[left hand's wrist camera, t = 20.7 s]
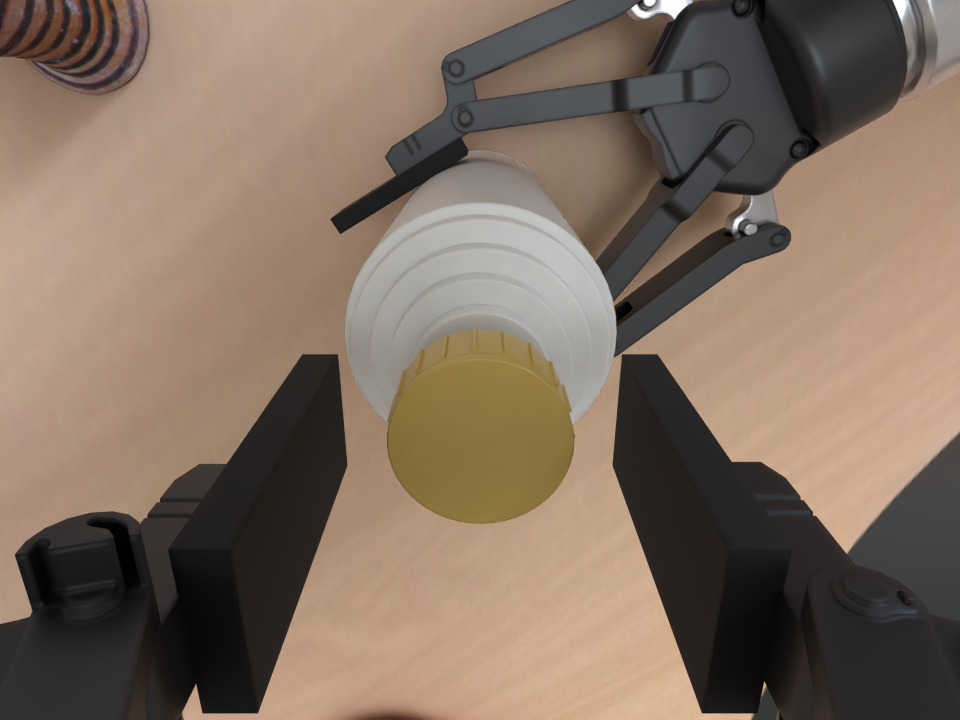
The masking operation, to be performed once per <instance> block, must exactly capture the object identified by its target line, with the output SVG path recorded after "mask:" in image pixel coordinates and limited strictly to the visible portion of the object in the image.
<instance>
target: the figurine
mask: <svg viewBox="0 0 960 720" xmlns="http://www.w3.org/2000/svg"><path fill="white" fill-rule="evenodd" d="M147 39H148V29H147V15H146V12H145V5H144V2H143V0H0V57H16V58H22V59H26V60H27V61H28V62H29V63H30V64H31V65H32V66H33V67H34V68H35V69H36V70H37V71H39V72H40V73H41V74H43V75H44V76H45V77H47V78H48V79H50V80H51V81H53V82H55V83H57V84H59V85H61V86H63V87H65V88H68V89H71V90H74V91H76V92H80V93H83V94H93V95H98V94H103V93H108V92H110V91H112V90H115V89H117V88H119V87H120V86H122V85H123V84H125V83H126V82H128V81H129V80H130V79H131V78H132V77H133V76H134V75H135V74H136V72H137V70H138V68H139V66H140V64H141V62H142V60H143V58H144V55H145V47H146V43H147Z"/></svg>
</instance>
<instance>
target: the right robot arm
mask: <svg viewBox="0 0 960 720" xmlns="http://www.w3.org/2000/svg"><path fill="white" fill-rule="evenodd" d="M624 12H627V13H628V15H629V16H630V17H631V18H632V19H634V20H636V21H642V20H645V19H648V18H650V17H652V16H655V15H658V16H662V17H664V18H665V19H666V20H667V21H668V24H667V26H666V28H665V30H664V32H663V34H662V36H661V38H660V40H659V42H658V44H657V46H656V49H655V51H654V53H653V55H652V57H651V59H650V61H649V63H648V65H647V67H646V69H645V71H644V74H643V76H639V77H632V78H626V79H619V80H612V81H605V82H599V83H592V84H585V85H578V86H571V87H565V88H558V89H551V90H544V91H537V92H531V93H524V94H517V95H510V96H503V97H496V98H490V99H483V100H477V97H476V91H475V85H474V80H475V79H477V78H479V77H482V76H484V75H487V74H489V73H491V72H494V71H496V70H498V69H501V68H503V67H505V66H508V65H510V64H512V63H515V62H517V61H519V60H522V59H524V58H526V57H529V56H531V55H533V54H536V53H538V52H540V51H543V50H545V49H547V48H550V47H552V46H554V45H557V44H559V43H561V42H564V41H566V40H568V39H571V38H573V37H575V36H578V35H580V34H582V33H585V32H587V31H589V30H592V29H594V28H596V27H599V26H601V25H603V24H605V23H607V22H609V21H611V20H613V19H614V18H616V17H618V16H620V15H621V14H623V13H624ZM441 70H442V75H443V79H444V84H445V89H446V94H447V105H446V108H445V110H444V112H443V113H442V114H441V115H440V116H439V117H438V118H436V119H434V120H433V121H431V122H430V123H428V124H427V125H425V126H423V127H422V128H420V129H419V130H417V131H416V132H414V133H412V134H411V135H409V136H408V137H406V138H405V139H403V140H402V141H400V142H398V143H397V144H395V145H394V146H392V147H391V149H390V150H389V152H388V153H387V155H386V156H385V158H386V160H387V161H388V163H389V165H390V166H391V168H392V169H393V171H394V173H395V174H396V176H395V177H393V178H392V179H390V180H389V181H387V182H385V183H384V184H382V185H381V186H379V187H377V188H376V189H374V190H373V191H371V192H369V193H368V194H366V195H365V196H363V197H361V198H360V199H358V200H357V201H355V202H354V203H352V204H350V205H349V206H347V207H346V208H344V209H342V210H341V211H340V212H339V213H337V214H336V215H335V216H334V217H333V218H331V221H332V222H333V224H334V225H335V227H336V228H337V230H338V231H339V233H340V234H341V233H343V232H345V231H346V230H348V229H349V228H351V227H353V226H354V225H356V224H357V223H359V222H361V221H362V220H364V219H365V218H367V217H369V216H370V215H372V214H374V213H375V212H377V211H378V210H380V209H382V208H383V207H385V206H386V205H388V204H390V203H391V202H393V201H395V200H396V199H398V198H399V197H401V196H403V195H404V194H406V193H407V192H409V191H411V190H412V189H414V188H415V187H417V186H419V185H420V184H422V183H424V182H425V181H427V180H428V179H430V178H432V177H433V176H435V175H436V174H438V173H440V172H441V171H443V170H444V169H446V168H448V167H449V166H451V165H453V164H454V163H456V162H457V161H459V160H461V159H462V158H464V157H465V156H467V155H468V151H469V150H468V149H467V147H466V145H465V143H464V142H463V140H462V137H463V136H465V135H466V134H468V133H472V132H479V131H486V130H493V129H500V128H507V127H514V126H521V125H528V124H534V123H541V122H548V121H555V120H562V119H569V118H576V117H583V116H590V115H597V114H604V113H611V112H619V111H628V110H634V112H633V113H631V114H632V117H633V119H634V121H635V123H636V125H637V127H638V129H639V130H640V131H641V132H642V134H643V135H644V136H645V137H646V138H647V139H648V140H649V142H650V144H651V149H652V155H653V161H654V163H655V165H656V167H657V169H658V171H659V173H660V175H661V177H660V179H659V180H658V181H657V182H656V183H655V185H654V186H653V187H652V189H651V190H650V192H649V194H648V197H647V199H646V200H645V201H644V203H643V204H642V205H641V206H640V208H639V209H638V210H637V211H636V212H635V214H634V215H633V216H632V217H631V219H630V220H629V221H628V222H627V224H626V225H625V226H624V227H623V228H622V230H621V231H620V232H619V233H618V235H617V236H616V237H615V238H614V239H613V241H612V242H611V243H610V244H609V246H608V247H607V248H606V249H605V250H604V252H603V253H602V254H601V255H600V257H599V258H598V259H597V260H596V261H595V262H596V264H597V265H598V266H599V268H600V270H601V272H602V274H603V276H604V278H605V280H606V282H607V284H608V287H609V290H610V293H611V296H612V299H613V302H614V301H615V300H616V298H617V297H618V296H619V295H620V294H621V292H622V291H623V290H624V289H625V288H626V287H627V285H628V284H629V283H630V282H631V281H632V279H633V278H634V277H635V276H636V275H637V274H638V272H639V271H640V270H641V269H642V268H643V266H644V265H645V264H646V263H647V262H648V261H649V259H650V258H651V257H652V256H653V255H654V253H655V252H656V251H657V250H658V249H659V248H660V246H661V245H662V244H663V243H664V242H665V240H666V239H667V238H668V237H669V236H670V235H671V233H672V232H673V231H674V230H675V229H676V227H677V226H678V225H679V224H680V223H681V222H683V221H685V220H687V219H688V218H689V217H690V216H691V215H692V214H693V213H694V212H695V211H696V210H697V209H698V207H699V206H700V205H701V204H702V203H703V202H704V200H705V199H706V198H707V197H708V196H709V194H710V193H711V192H719V193H730V194H740V195H743V200H742V203H741V205H740V206H739V208H738V209H736V210H735V211H733V212H732V213H730V214H729V215H728V217H727V218H726V220H725V227H724V228H722V229H720V230H718V231H716V232H714V233H712V234H710V235H709V236H707V237H706V238H704V239H703V240H701V241H700V242H699V243H697V244H696V245H695V246H693V247H692V248H691V249H689V250H688V251H687V252H685V253H684V254H683V255H681V256H680V257H679V258H677V259H676V260H675V261H674V262H672V263H671V264H670V265H668V266H667V267H666V268H664V269H663V270H662V271H660V272H659V273H658V274H656V275H655V276H654V277H652V278H651V279H650V280H648V281H647V282H646V283H644V284H643V285H642V286H640V287H639V288H638V289H636V290H635V291H634V292H632V293H631V294H630V295H628V296H627V297H626V298H624V299H623V300H622V301H620V302H619V303H618V304H616V305H615V306H614V309H615V315H616V331H617V334H616V345H615V352H614V356H613V357H615V356H618V355H619V354H620V353H622V352H623V351H624V350H626V349H627V348H629V347H630V346H631V345H633V344H634V343H635V342H637V341H638V340H640V339H641V338H642V337H644V336H645V335H646V334H648V333H649V332H650V331H652V330H653V329H655V328H656V327H657V326H659V325H660V324H661V323H663V322H664V321H666V320H667V319H668V318H670V317H671V316H672V315H674V314H675V313H677V312H678V311H679V310H681V309H682V308H683V307H685V306H686V305H688V304H689V303H690V302H692V301H693V300H694V299H696V298H697V297H698V296H700V295H701V294H703V293H704V292H705V291H707V290H708V289H709V288H711V287H712V286H714V285H715V284H716V283H718V282H719V281H720V280H722V279H723V278H725V277H726V276H727V275H729V274H730V273H731V272H733V271H734V270H736V269H737V268H738V267H740V266H741V265H742V264H745V263H748V262H751V261H754V260H757V259H760V258H763V257H766V256H769V255H772V254H775V253H778V252H780V251H782V250H784V249H785V248H786V247H787V246H788V245H789V243H790V241H791V233H790V231H789V230H788V229H787V228H786V227H785V226H782V225H780V224H779V222H778V217H777V212H776V207H775V202H774V196H773V191H772V189H773V188H774V187H775V186H776V185H777V184H778V183H779V182H780V180H781V179H782V178H783V176H784V175H785V174H786V172H787V171H788V170H789V169H790V168H791V167H792V166H794V165H795V164H796V163H798V162H799V161H801V160H803V159H805V158H807V157H809V156H811V155H813V154H815V153H817V152H818V151H820V150H822V149H824V148H826V147H827V146H829V145H831V144H833V143H834V142H836V141H838V140H840V139H842V138H843V137H845V136H847V135H849V134H851V133H852V132H854V131H856V130H858V129H859V128H861V127H863V126H865V125H867V124H868V123H870V122H872V121H874V120H876V119H877V118H879V117H881V116H883V115H884V114H886V113H888V112H889V111H890V110H891V109H893V107H894V106H895V104H896V103H897V101H908V100H911V99H914V98H916V97H918V96H920V95H922V94H923V93H925V92H927V91H928V90H930V89H932V88H934V87H935V86H937V85H939V84H941V83H942V82H944V81H946V80H948V79H949V78H951V77H953V76H954V75H956V74H958V73H960V0H699V1H695V2H694V1H693V0H571V1H569V2H566V3H564V4H562V5H560V6H557V7H555V8H553V9H550V10H548V11H546V12H544V13H541V14H539V15H537V16H534V17H532V18H530V19H527V20H525V21H523V22H521V23H518V24H516V25H514V26H511V27H509V28H507V29H505V30H502V31H500V32H498V33H495V34H493V35H491V36H489V37H486V38H484V39H482V40H479V41H477V42H475V43H472V44H470V45H468V46H466V47H463V48H461V49H459V50H456V51H454V52H452V53H450V54H449V55H447V56H446V57H445V58H444V60H443V62H442V67H441Z"/></svg>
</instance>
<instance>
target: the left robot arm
mask: <svg viewBox="0 0 960 720" xmlns="http://www.w3.org/2000/svg"><path fill="white" fill-rule="evenodd" d="M346 468H347V455H346V443H345V432H344V420H343V408H342V396H341V385H340V373H339V361H338V354H303V355H302V356H301V357H300V359H299V360H298V362H297V363H296V365H295V366H294V368H293V369H292V370H291V372H290V373H289V375H288V376H287V378H286V379H285V381H284V382H283V384H282V385H281V386H280V388H279V389H278V391H277V392H276V394H275V395H274V397H273V398H272V399H271V401H270V402H269V404H268V405H267V407H266V408H265V410H264V411H263V412H262V414H261V415H260V417H259V418H258V420H257V421H256V423H255V424H254V425H253V427H252V428H251V430H250V431H249V433H248V434H247V436H246V437H245V439H244V440H243V441H242V443H241V444H240V446H239V447H238V449H237V450H236V452H235V453H234V454H233V456H232V457H231V459H230V460H229V462H228V463H227V464H199V465H197V466H196V467H194V468H193V469H191V470H190V471H188V472H187V473H185V474H184V475H182V476H180V477H179V478H177V479H176V480H175V481H174V482H173V483H172V484H171V486H170V487H169V488H168V489H167V491H166V492H165V493H164V494H163V496H162V497H161V498H160V502H157V503H156V504H155V506H154V507H153V508H152V509H151V511H150V512H149V513H148V517H147V518H144V519H143V521H142V522H141V523H140V524H139V522H138V521H136V520H135V519H134V518H133V517H131V516H130V515H128V514H123V513H118V512H113V511H111V512H95V513H88V514H84V515H80V516H76V517H72V518H68V519H66V520H63V521H61V522H59V523H56V524H54V525H52V526H49V527H47V528H45V529H43V530H42V531H40V532H39V533H37V534H36V535H34V536H33V537H31V538H30V539H28V540H27V541H26V542H25V543H24V544H23V546H22V547H21V548H20V549H19V550H18V551H17V553H16V554H15V557H16V560H17V563H18V566H19V570H20V573H21V576H22V579H23V582H24V585H25V588H26V592H27V595H28V598H29V601H30V604H31V607H32V614H31V616H30V617H28V618H25V619H21V620H17V621H13V622H8V623H3V624H0V720H184V719H183V714H182V711H183V709H184V707H185V705H186V703H187V701H188V699H189V697H190V695H191V693H192V691H193V689H194V687H195V685H197V689H198V694H199V699H200V703H201V708H202V713H258V712H259V709H260V706H261V703H262V701H263V698H264V695H265V692H266V690H267V687H268V684H269V681H270V678H271V676H272V673H273V670H274V667H275V665H276V662H277V659H278V656H279V653H280V651H281V648H282V645H283V642H284V640H285V637H286V634H287V631H288V629H289V626H290V623H291V620H292V617H293V615H294V612H295V609H296V606H297V604H298V601H299V598H300V595H301V592H302V590H303V587H304V584H305V581H306V579H307V576H308V573H309V570H310V568H311V565H312V562H313V559H314V556H315V554H316V551H317V548H318V545H319V543H320V540H321V537H322V534H323V532H324V529H325V526H326V523H327V520H328V518H329V515H330V512H331V509H332V507H333V504H334V501H335V498H336V495H337V493H338V490H339V487H340V484H341V482H342V479H343V476H344V473H345V471H346ZM613 468H614V471H615V473H616V476H617V479H618V482H619V484H620V487H621V490H622V493H623V495H624V498H625V501H626V504H627V507H628V509H629V512H630V515H631V518H632V520H633V523H634V526H635V529H636V532H637V534H638V537H639V540H640V543H641V545H642V548H643V551H644V554H645V556H646V559H647V562H648V565H649V568H650V570H651V573H652V576H653V579H654V581H655V584H656V587H657V590H658V592H659V595H660V598H661V601H662V604H663V606H664V609H665V612H666V615H667V617H668V620H669V623H670V626H671V629H672V631H673V634H674V637H675V640H676V642H677V645H678V648H679V651H680V653H681V656H682V659H683V662H684V665H685V667H686V670H687V673H688V676H689V678H690V681H691V684H692V687H693V690H694V692H695V695H696V698H697V701H698V703H699V706H700V709H701V712H702V713H758V708H759V703H760V699H761V694H762V689H763V685H764V681H765V683H766V685H767V687H768V689H769V692H770V693H771V696H772V698H773V700H774V702H775V704H776V706H777V708H778V714H777V719H776V720H960V621H956V620H951V619H946V618H942V617H939V616H935V615H931V614H929V613H928V610H927V609H926V607H925V606H924V605H923V603H922V602H921V600H920V599H919V598H918V596H917V595H916V594H914V593H913V592H912V591H911V590H909V589H908V588H907V587H905V586H904V585H903V584H902V583H900V582H899V581H897V580H895V579H893V578H891V577H889V576H887V575H885V574H883V573H881V572H879V571H875V570H872V569H868V568H865V567H861V566H858V565H855V564H854V563H853V561H852V560H851V559H850V558H849V556H848V555H847V554H846V553H845V551H844V550H843V549H842V548H841V546H840V545H839V544H838V543H837V541H836V540H835V539H834V538H833V536H832V535H831V534H830V533H829V531H828V530H827V529H826V528H825V526H824V525H823V524H822V523H821V521H820V520H819V519H818V518H817V517H816V516H813V512H812V510H811V509H810V508H809V507H808V505H807V504H806V503H805V502H804V500H801V499H800V495H799V494H798V493H797V492H796V490H795V489H794V488H793V487H792V485H791V484H790V483H789V482H788V480H787V479H786V478H785V477H783V476H782V475H780V474H779V473H777V472H776V471H774V470H772V469H771V468H769V467H768V466H766V465H765V464H763V463H762V462H731V460H730V459H729V457H728V456H727V454H726V453H725V452H724V450H723V449H722V447H721V446H720V444H719V443H718V441H717V440H716V439H715V437H714V436H713V434H712V433H711V431H710V430H709V428H708V427H707V425H706V424H705V423H704V421H703V420H702V418H701V417H700V415H699V414H698V412H697V411H696V410H695V408H694V407H693V405H692V404H691V402H690V401H689V399H688V398H687V397H686V395H685V394H684V392H683V391H682V389H681V388H680V386H679V385H678V384H677V382H676V381H675V379H674V378H673V376H672V375H671V373H670V372H669V370H668V369H667V368H666V366H665V365H664V363H663V362H662V360H661V359H660V357H659V356H658V355H657V354H622V361H621V373H620V385H619V396H618V408H617V420H616V432H615V443H614V455H613Z"/></svg>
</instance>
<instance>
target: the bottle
mask: <svg viewBox="0 0 960 720" xmlns="http://www.w3.org/2000/svg"><path fill="white" fill-rule="evenodd" d="M473 328H477V330H491V331H496V332H502V331H506V333H507V334H509V335H512V336H514V337H517V338H519V339H521V340H523V341H525V342H527V343H528V344H529V342H531V343H532V344H533V347H534V348H535V349H537V350H538V351H539V352H540V353H541V354H542V355H543V356H544V357H545V358H546V359H547V360H548V361H549V362H550V361H552V362H553V365H554V368H555V372H556V374H557V376H558V378H559V380H560V383H561V385H563V384H564V386H565V389H566V392H567V396H568V399H569V403H570V406H571V410H572V412H569V414H570V417H571V421H572V425H573V424H574V423H575V422H576V421H577V420H578V419H579V418H580V417H581V416H582V415H583V414H584V413H585V412H586V411H587V410H588V408H589V407H590V406H591V404H592V403H593V401H594V400H595V399H596V397H597V396H598V394H599V392H600V390H601V389H602V387H603V385H604V383H605V381H606V378H607V376H608V373H609V371H610V368H611V365H612V361H613V356H614V352H615V345H616V334H617V331H616V315H615V309H614V304H613V299H612V296H611V293H610V290H609V287H608V284H607V282H606V280H605V278H604V276H603V274H602V272H601V270H600V268H599V266H598V265H597V264H596V262H595V261H594V259H593V258H592V256H591V255H590V253H589V252H588V251H587V249H586V248H585V246H584V245H583V243H582V242H581V241H580V239H579V238H578V236H577V235H576V233H575V232H574V231H573V229H572V228H571V226H570V225H569V224H568V222H567V221H566V219H565V218H564V216H563V215H562V214H561V212H560V211H559V209H558V208H557V206H556V205H555V204H554V202H553V201H552V199H551V198H550V197H549V195H548V194H547V192H546V191H545V189H544V188H543V187H542V185H541V184H540V182H539V181H538V179H537V178H536V177H535V175H534V174H533V173H532V172H531V171H530V170H529V169H528V168H527V167H526V166H524V165H523V164H522V163H520V162H519V161H517V160H516V159H514V158H512V157H510V156H508V155H505V154H502V153H499V152H496V151H489V150H472V151H468V155H467V156H465V157H464V158H462V159H461V160H459V161H457V162H456V163H454V164H453V165H451V166H449V167H448V168H446V169H444V170H443V171H441V172H440V173H438V174H436V175H435V176H433V177H432V178H430V179H428V180H427V181H425V182H424V183H422V184H420V185H419V186H418V187H417V189H416V190H415V192H414V193H413V194H412V196H411V197H410V199H409V200H408V202H407V203H406V204H405V206H404V207H403V209H402V210H401V212H400V213H399V214H398V216H397V217H396V219H395V220H394V222H393V223H392V224H391V226H390V227H389V229H388V230H387V232H386V233H385V235H384V236H383V237H382V239H381V240H380V242H379V243H378V245H377V246H376V247H375V249H374V250H373V252H372V253H371V255H370V256H369V257H368V259H367V260H366V262H365V263H364V265H363V266H362V268H361V270H360V272H359V274H358V276H357V278H356V279H355V282H354V285H353V287H352V290H351V293H350V295H349V299H348V304H347V309H346V314H345V328H344V333H345V347H346V352H347V357H348V362H349V365H350V368H351V371H352V373H353V376H354V379H355V381H356V383H357V385H358V387H359V389H360V391H361V393H362V394H363V396H364V397H365V399H366V400H367V402H368V403H369V404H370V406H371V407H372V408H373V410H374V411H375V412H376V413H377V414H378V415H379V416H380V417H381V418H382V420H384V421H385V422H386V424H387V425H389V423H387V419H388V416H389V412H390V409H391V405H392V402H393V398H394V395H395V394H396V393H397V389H398V386H399V382H400V379H401V375H402V372H403V370H407V369H408V367H409V366H410V364H411V363H412V362H413V360H414V359H415V358H416V357H417V356H418V355H419V351H420V350H421V349H423V350H425V349H426V348H427V347H428V346H430V345H431V344H433V343H434V342H436V341H438V340H440V339H442V338H444V335H446V334H448V336H450V335H452V334H455V333H460V332H465V331H472V330H473Z"/></svg>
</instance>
